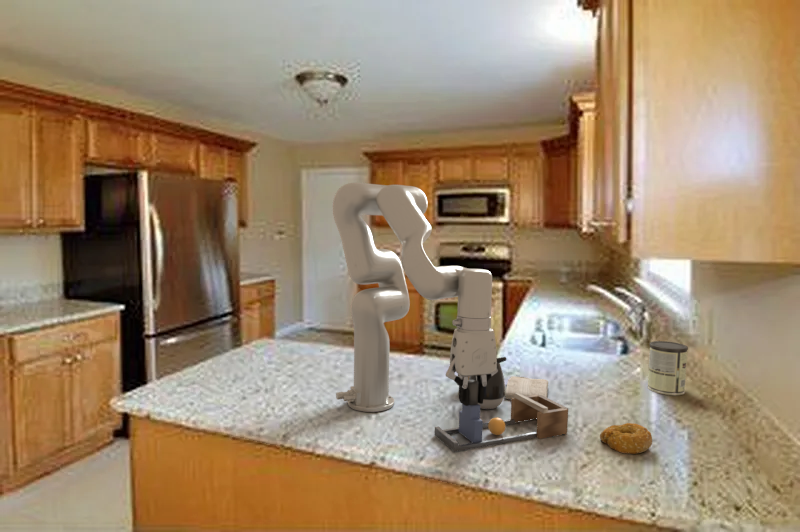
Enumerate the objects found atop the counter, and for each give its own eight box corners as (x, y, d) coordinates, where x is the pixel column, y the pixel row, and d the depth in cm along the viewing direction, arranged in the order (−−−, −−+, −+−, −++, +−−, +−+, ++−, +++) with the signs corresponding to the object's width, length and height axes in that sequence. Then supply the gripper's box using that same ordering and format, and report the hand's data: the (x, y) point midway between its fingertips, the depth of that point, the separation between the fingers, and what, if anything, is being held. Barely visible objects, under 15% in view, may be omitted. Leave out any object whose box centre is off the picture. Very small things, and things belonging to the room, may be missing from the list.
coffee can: (646, 382, 162) (649, 339, 161) (683, 387, 158) (686, 343, 157) (647, 392, 153) (650, 346, 152) (686, 397, 149) (689, 350, 148)
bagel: (608, 432, 123) (610, 413, 122) (657, 447, 115) (659, 426, 115) (592, 445, 116) (593, 425, 115) (643, 461, 108) (644, 439, 108)
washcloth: (548, 386, 158) (548, 377, 158) (548, 406, 141) (548, 395, 141) (509, 382, 161) (509, 373, 161) (504, 401, 144) (504, 390, 144)
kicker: (472, 444, 113) (474, 387, 112) (456, 431, 120) (458, 377, 119) (483, 442, 114) (485, 385, 113) (467, 430, 121) (469, 376, 120)
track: (454, 452, 110) (454, 443, 110) (434, 435, 119) (434, 426, 119) (536, 437, 119) (537, 429, 119) (512, 422, 127) (513, 414, 127)
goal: (539, 439, 118) (540, 408, 117) (510, 421, 128) (511, 393, 128) (568, 433, 121) (570, 404, 121) (538, 416, 132) (539, 389, 131)
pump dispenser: (497, 416, 132) (499, 358, 130) (460, 407, 137) (462, 352, 136) (510, 404, 140) (513, 350, 139) (475, 397, 146) (477, 345, 144)
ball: (494, 439, 117) (494, 422, 117) (484, 432, 121) (485, 416, 121) (508, 436, 119) (509, 420, 118) (498, 430, 122) (499, 413, 122)
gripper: (449, 329, 108) (447, 413, 110) (513, 324, 115) (510, 404, 116) (433, 322, 115) (431, 401, 117) (494, 318, 121) (492, 393, 123)
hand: (471, 402), depth 116 cm, fingers closed on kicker, 3 cm apart
